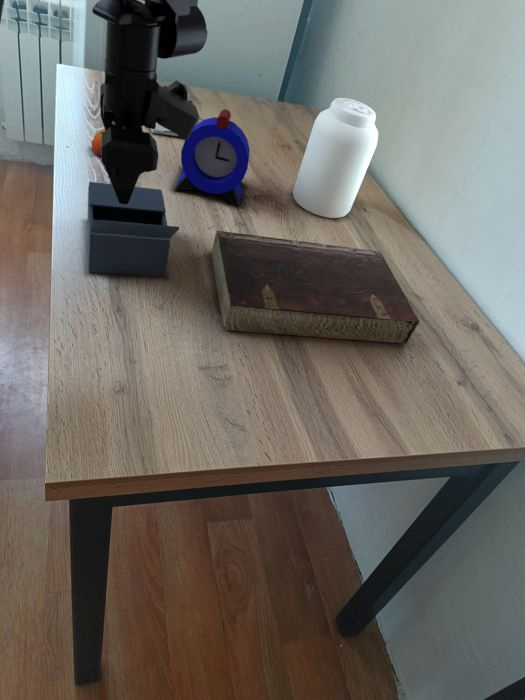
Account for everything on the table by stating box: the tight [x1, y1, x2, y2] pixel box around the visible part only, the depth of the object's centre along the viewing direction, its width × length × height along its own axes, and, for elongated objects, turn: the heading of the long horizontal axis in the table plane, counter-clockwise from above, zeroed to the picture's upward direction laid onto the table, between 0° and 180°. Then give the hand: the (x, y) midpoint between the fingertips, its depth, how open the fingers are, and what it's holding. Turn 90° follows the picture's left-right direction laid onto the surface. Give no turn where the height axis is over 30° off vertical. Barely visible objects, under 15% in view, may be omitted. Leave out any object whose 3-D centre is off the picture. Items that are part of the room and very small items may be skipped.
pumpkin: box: [91, 128, 105, 157], centre depth 104 cm, size 8×7×7 cm
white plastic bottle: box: [292, 97, 379, 219], centre depth 104 cm, size 12×12×20 cm
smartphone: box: [150, 122, 179, 137], centre depth 120 cm, size 7×1×15 cm
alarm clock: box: [174, 108, 251, 207], centre depth 100 cm, size 12×12×15 cm
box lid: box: [90, 219, 180, 239], centre depth 71 cm, size 6×11×1 cm
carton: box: [86, 181, 171, 277], centre depth 81 cm, size 13×11×7 cm
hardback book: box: [210, 230, 420, 344], centre depth 84 cm, size 29×19×5 cm, turn 99°
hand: (122, 185), depth 72 cm, fingers open, 9 cm apart
